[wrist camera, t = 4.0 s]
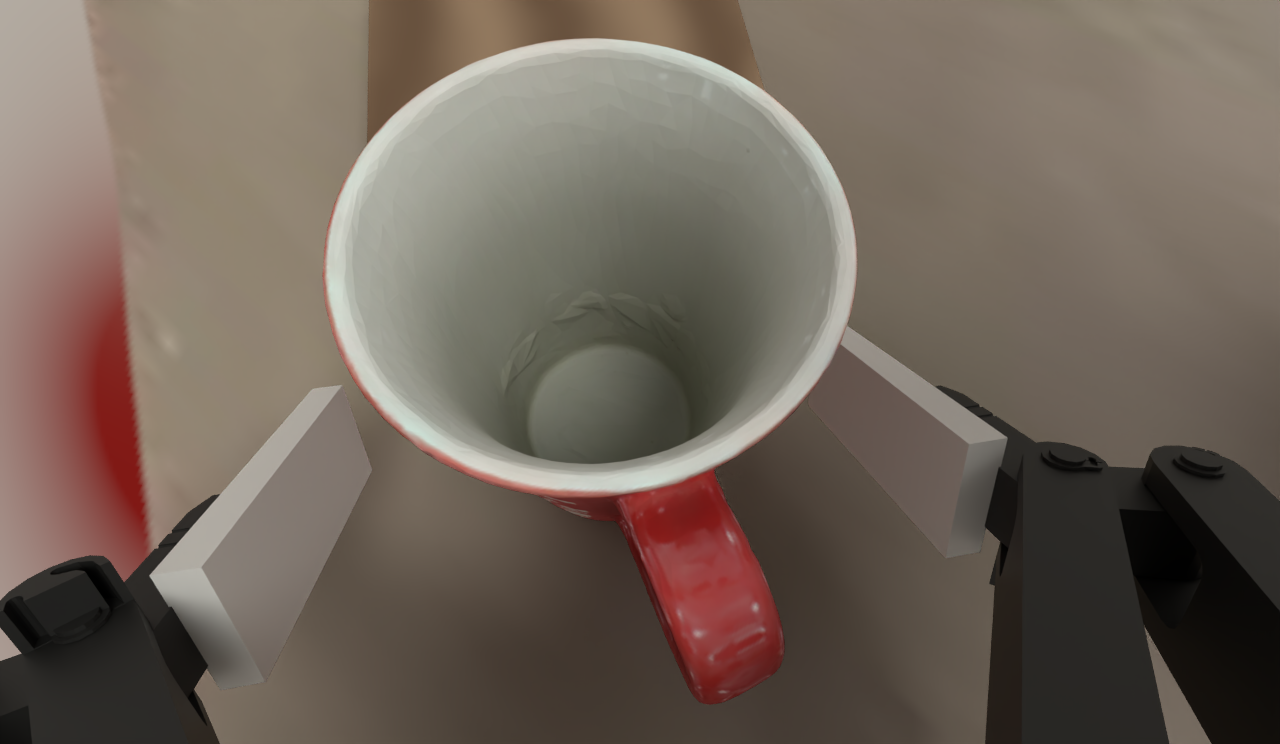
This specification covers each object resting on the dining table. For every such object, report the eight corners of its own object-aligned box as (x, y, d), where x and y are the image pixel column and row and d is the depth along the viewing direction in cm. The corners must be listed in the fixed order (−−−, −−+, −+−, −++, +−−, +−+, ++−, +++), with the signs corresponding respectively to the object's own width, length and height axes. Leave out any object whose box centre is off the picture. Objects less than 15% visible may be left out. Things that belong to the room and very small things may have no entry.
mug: (471, 354, 23) (289, 80, 10) (678, 299, 24) (749, -6, 11) (546, 684, 19) (404, 920, 6) (789, 598, 20) (1090, 644, 7)
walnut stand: (697, -16, 31) (708, -98, 27) (762, 228, 25) (787, 168, 22) (401, 4, 29) (370, -79, 25) (405, 267, 24) (366, 210, 20)
